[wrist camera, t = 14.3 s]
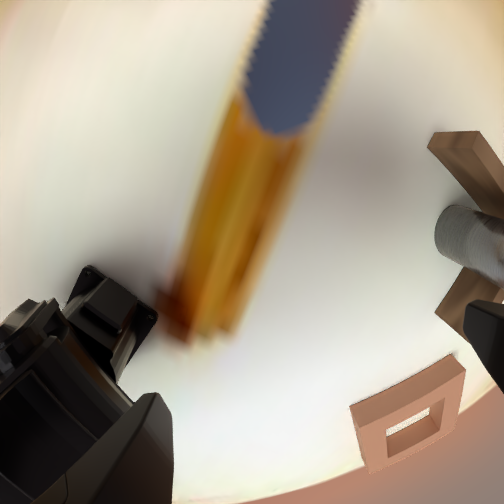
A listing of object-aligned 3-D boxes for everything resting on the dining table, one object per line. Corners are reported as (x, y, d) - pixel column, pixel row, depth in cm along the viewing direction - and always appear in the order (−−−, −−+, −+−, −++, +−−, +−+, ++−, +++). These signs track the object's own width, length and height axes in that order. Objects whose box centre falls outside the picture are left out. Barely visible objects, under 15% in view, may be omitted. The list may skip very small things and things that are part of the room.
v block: (433, 322, 23) (464, 351, 18) (424, 133, 18) (469, 131, 13) (500, 289, 23) (531, 308, 18) (499, 129, 18) (538, 130, 13)
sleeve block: (361, 457, 28) (369, 474, 26) (349, 406, 25) (359, 427, 22) (443, 415, 28) (453, 430, 25) (450, 353, 24) (465, 369, 21)
